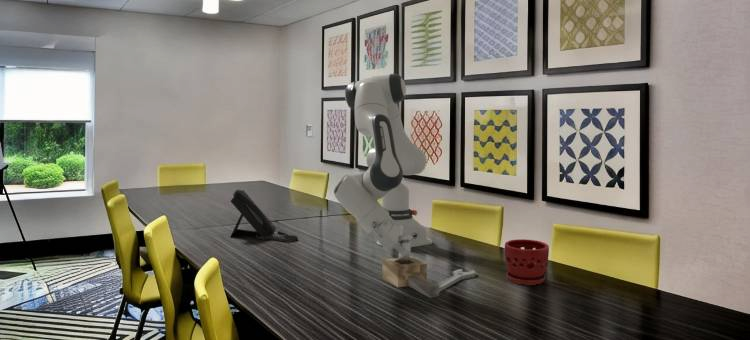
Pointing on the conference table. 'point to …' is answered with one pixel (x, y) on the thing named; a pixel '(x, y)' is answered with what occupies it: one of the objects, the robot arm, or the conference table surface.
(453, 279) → the adjustable wrench
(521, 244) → the plant pot
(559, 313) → the conference table surface
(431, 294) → the mortise block
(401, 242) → the clear glass bottle
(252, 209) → the office phone
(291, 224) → the conference table surface
